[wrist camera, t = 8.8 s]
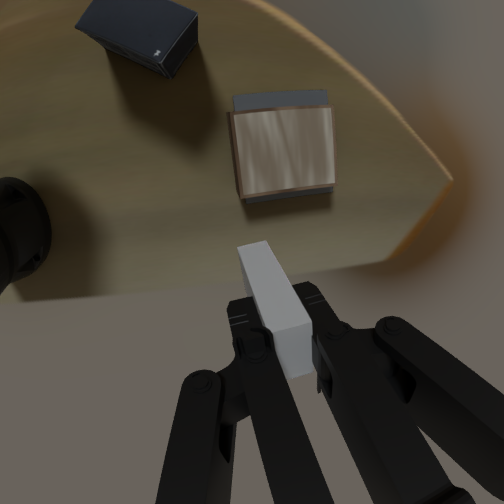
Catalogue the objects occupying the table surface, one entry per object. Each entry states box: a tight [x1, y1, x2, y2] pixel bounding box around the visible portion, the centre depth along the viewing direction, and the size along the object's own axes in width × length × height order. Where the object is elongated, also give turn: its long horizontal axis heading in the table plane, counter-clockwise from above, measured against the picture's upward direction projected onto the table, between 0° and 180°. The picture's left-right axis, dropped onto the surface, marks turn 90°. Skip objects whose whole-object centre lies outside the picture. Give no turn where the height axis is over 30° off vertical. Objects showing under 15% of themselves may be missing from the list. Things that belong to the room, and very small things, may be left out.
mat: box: [233, 90, 333, 204], centre depth 36 cm, size 12×14×1 cm
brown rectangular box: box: [226, 105, 338, 199], centre depth 34 cm, size 4×10×12 cm
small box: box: [75, 0, 198, 79], centre depth 23 cm, size 11×6×10 cm, turn 57°
